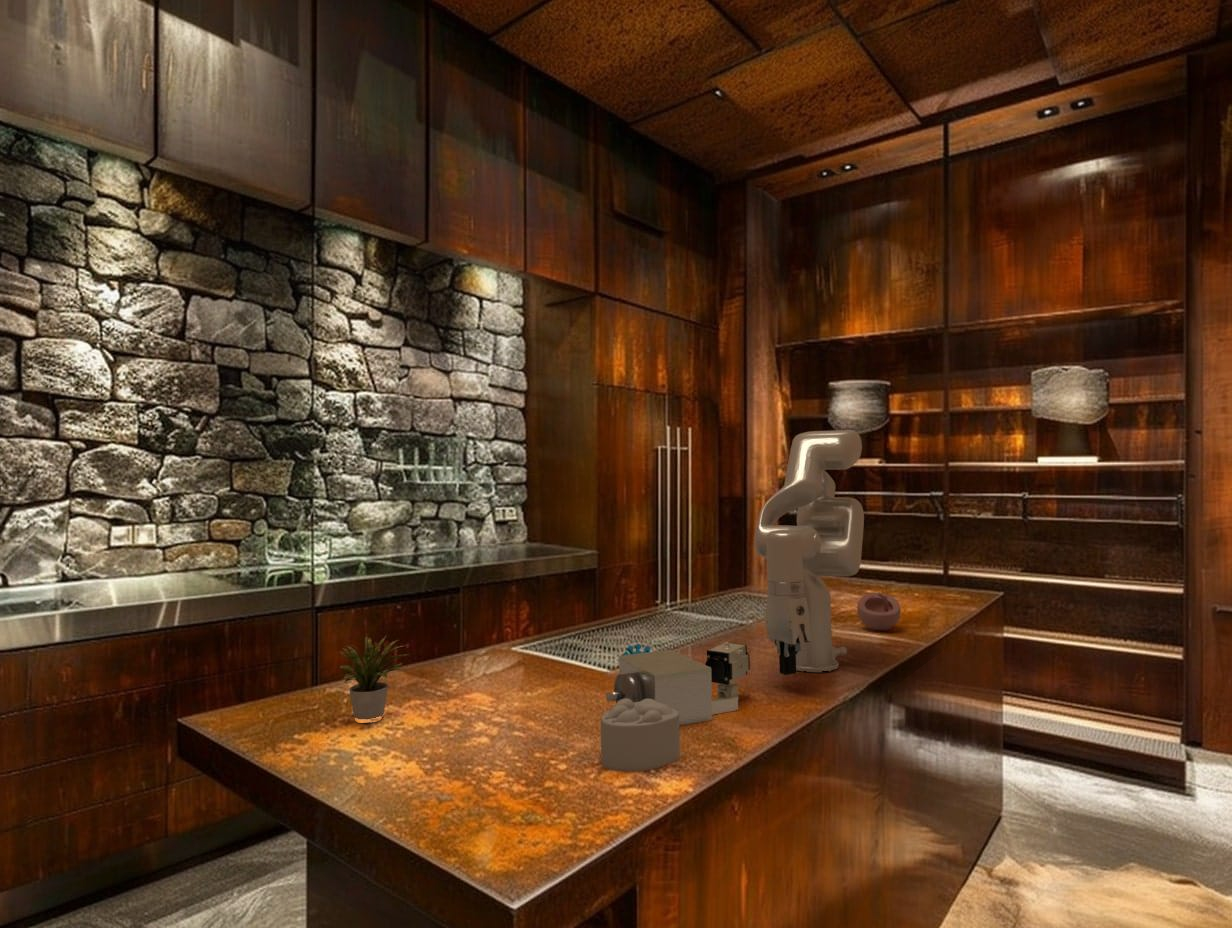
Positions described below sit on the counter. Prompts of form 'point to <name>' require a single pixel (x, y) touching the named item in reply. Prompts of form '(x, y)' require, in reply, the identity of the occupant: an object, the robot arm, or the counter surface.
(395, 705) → the counter surface
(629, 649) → the teal lobed piece
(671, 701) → the motor
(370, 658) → the house plant
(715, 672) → the pneumatic valve
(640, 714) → the lumpy-topped squat cylinder
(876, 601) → the mortar and pestle
